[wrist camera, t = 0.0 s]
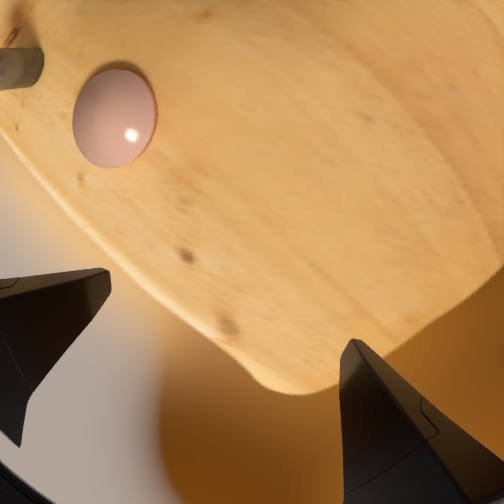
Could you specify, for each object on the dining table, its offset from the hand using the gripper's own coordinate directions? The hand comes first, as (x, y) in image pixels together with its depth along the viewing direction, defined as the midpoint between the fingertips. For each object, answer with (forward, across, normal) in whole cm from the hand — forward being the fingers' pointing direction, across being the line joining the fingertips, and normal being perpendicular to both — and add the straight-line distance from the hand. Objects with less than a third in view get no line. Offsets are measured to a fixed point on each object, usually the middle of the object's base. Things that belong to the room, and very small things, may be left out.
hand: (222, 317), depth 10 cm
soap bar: (+15, -15, +4) cm, 21 cm away
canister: (+15, -29, +10) cm, 34 cm away
